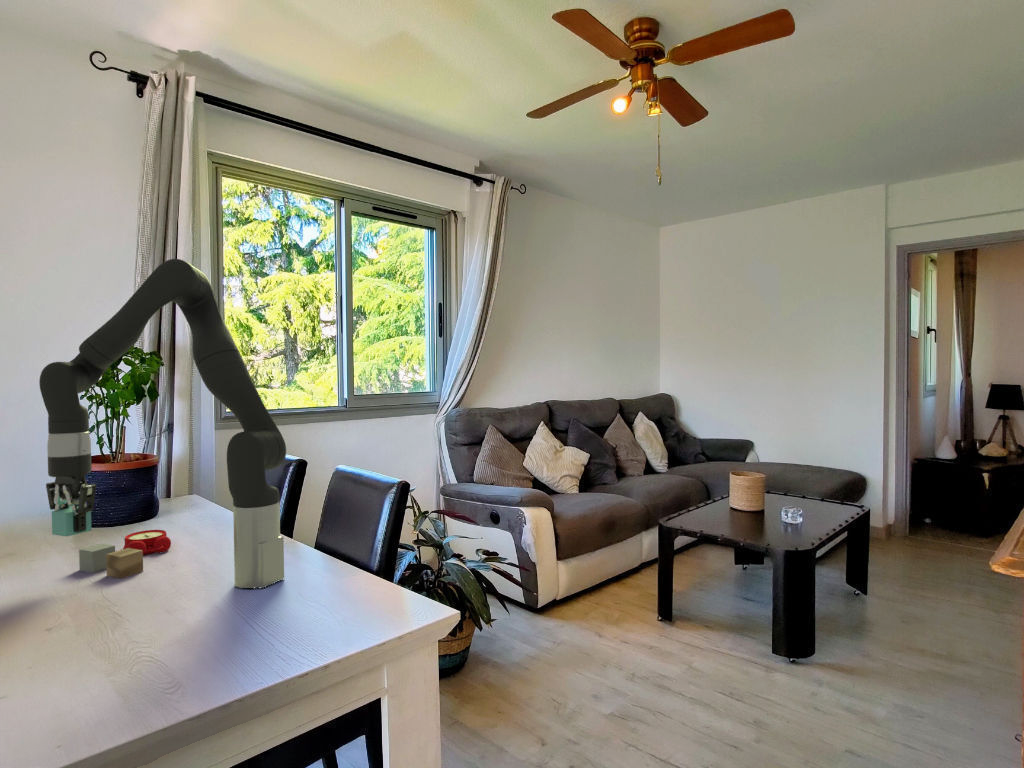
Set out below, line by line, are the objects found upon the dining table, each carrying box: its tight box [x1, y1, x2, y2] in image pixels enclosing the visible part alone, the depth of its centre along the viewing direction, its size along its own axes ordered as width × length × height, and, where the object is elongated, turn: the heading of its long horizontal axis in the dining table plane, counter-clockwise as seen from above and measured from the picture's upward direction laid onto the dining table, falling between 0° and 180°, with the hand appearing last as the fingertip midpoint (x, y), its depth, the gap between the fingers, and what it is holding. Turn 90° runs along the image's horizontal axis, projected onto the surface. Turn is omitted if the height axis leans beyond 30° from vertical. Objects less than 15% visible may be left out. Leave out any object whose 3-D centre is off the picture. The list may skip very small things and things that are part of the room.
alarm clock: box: [122, 529, 172, 556], centre depth 147 cm, size 10×6×15 cm
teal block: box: [51, 505, 92, 537], centre depth 124 cm, size 5×5×5 cm
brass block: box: [106, 548, 144, 580], centre depth 130 cm, size 5×5×5 cm
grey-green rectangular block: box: [78, 542, 116, 574], centre depth 134 cm, size 5×5×5 cm
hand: (71, 530), depth 124 cm, fingers closed on teal block, 5 cm apart
